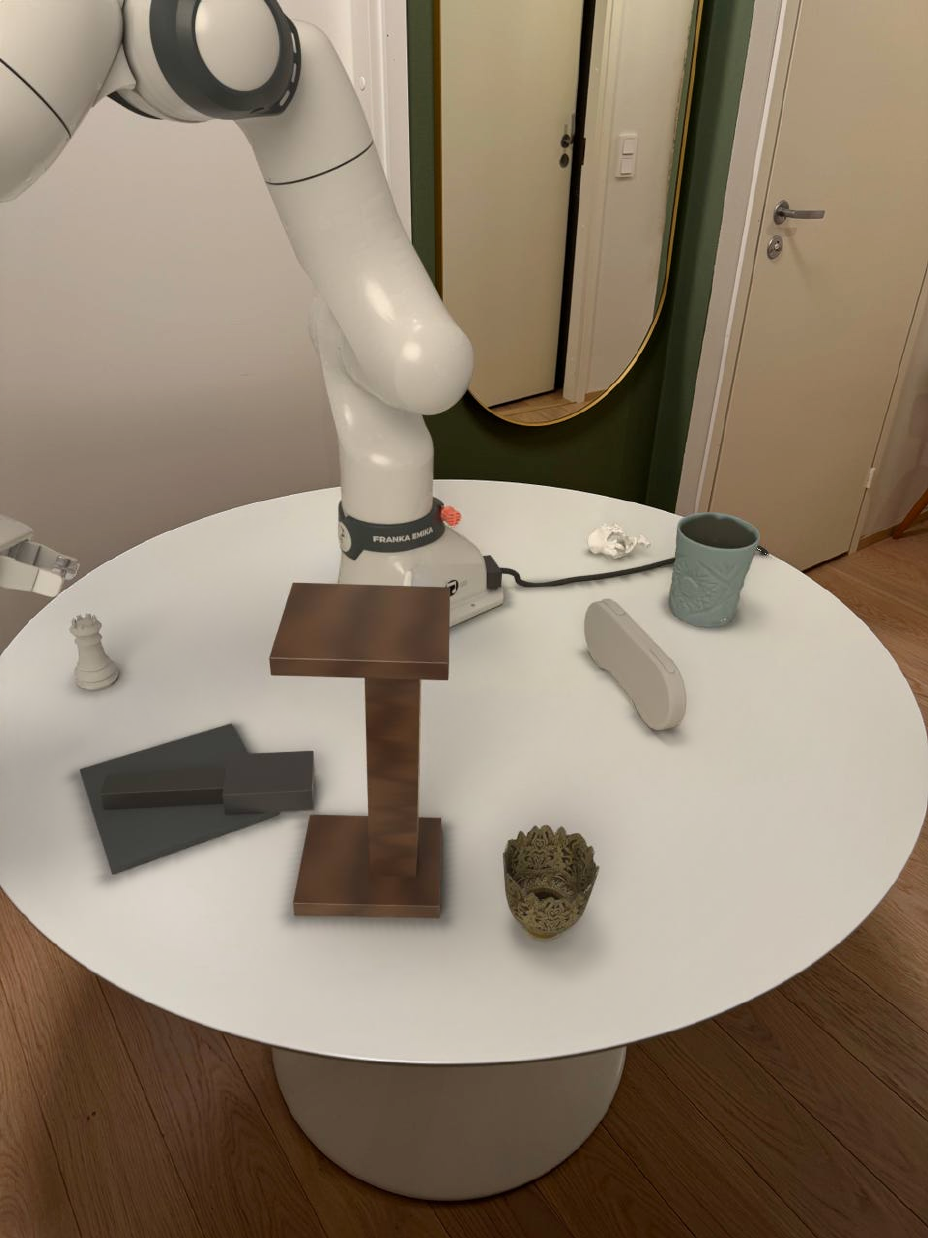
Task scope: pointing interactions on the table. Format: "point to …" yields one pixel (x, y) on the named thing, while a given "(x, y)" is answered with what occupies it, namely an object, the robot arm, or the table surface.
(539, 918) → the cup
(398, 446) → the robot arm
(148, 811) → the mat
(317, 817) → the stand
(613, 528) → the pelvis model
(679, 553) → the teal embossed pot
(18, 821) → the table surface
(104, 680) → the rook chess piece
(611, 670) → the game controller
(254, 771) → the block with square shaft
